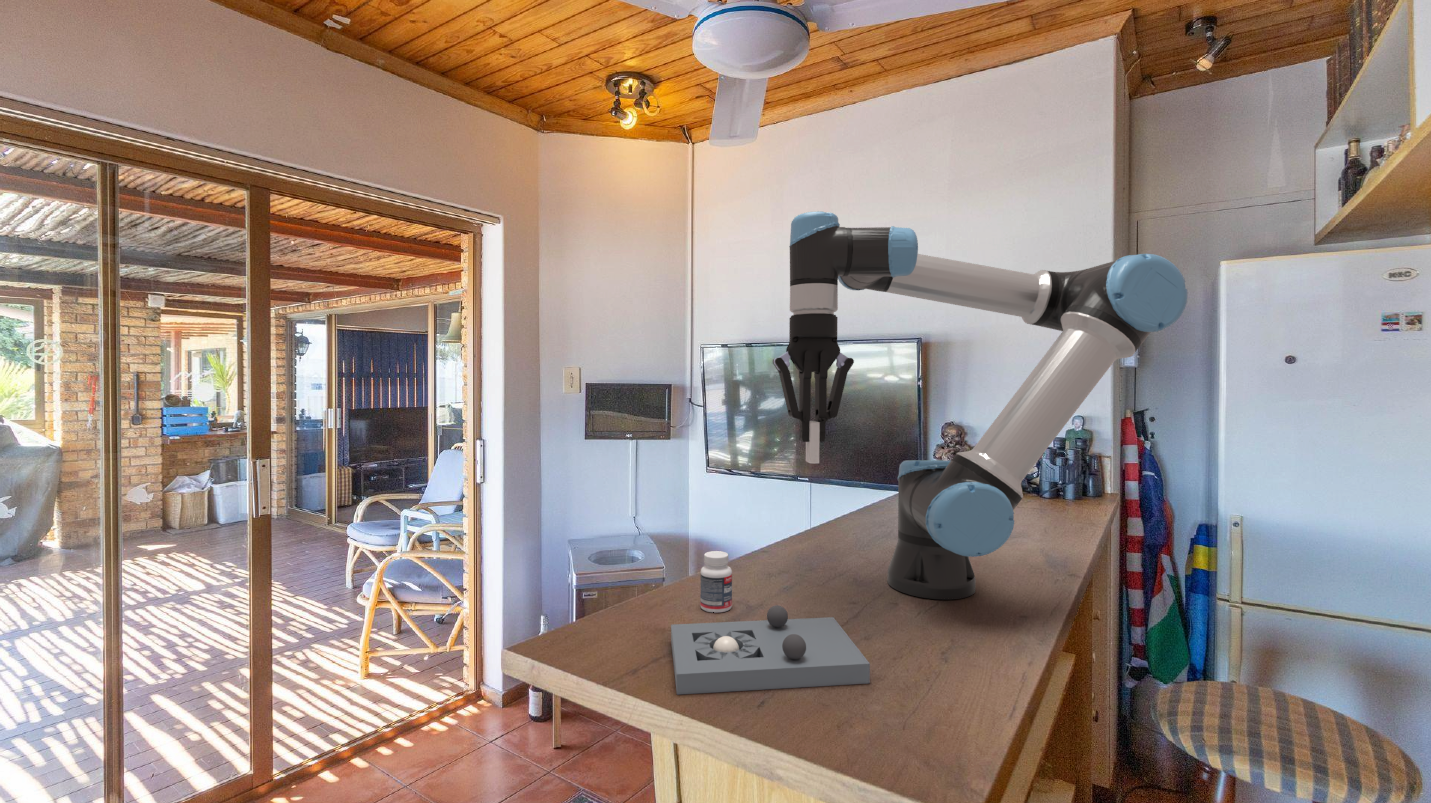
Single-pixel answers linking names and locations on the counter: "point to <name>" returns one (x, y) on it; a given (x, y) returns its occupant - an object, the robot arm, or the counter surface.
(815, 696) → the counter surface
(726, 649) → the ball
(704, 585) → the pill bottle
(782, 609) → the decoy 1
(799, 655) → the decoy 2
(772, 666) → the plate
